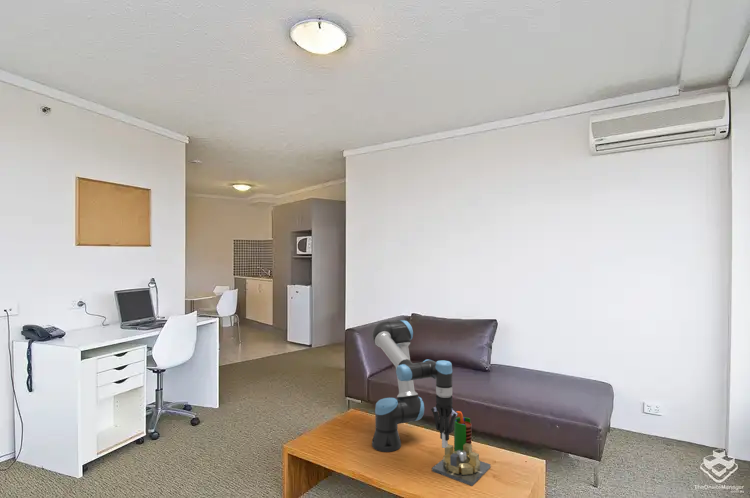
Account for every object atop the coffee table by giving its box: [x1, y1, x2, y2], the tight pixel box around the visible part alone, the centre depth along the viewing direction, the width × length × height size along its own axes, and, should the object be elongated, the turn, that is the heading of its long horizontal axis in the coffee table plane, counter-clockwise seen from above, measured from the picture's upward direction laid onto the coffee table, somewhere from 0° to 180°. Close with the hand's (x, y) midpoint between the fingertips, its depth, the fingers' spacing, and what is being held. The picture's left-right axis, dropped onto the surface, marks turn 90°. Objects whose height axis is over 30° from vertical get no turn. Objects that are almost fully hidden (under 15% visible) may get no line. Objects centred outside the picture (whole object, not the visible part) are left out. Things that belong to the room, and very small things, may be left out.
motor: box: [453, 410, 473, 451], centre depth 209 cm, size 10×9×20 cm
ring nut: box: [442, 443, 481, 475], centre depth 192 cm, size 16×16×7 cm
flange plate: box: [431, 450, 492, 487], centre depth 192 cm, size 20×20×8 cm
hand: (444, 446), depth 190 cm, fingers closed
